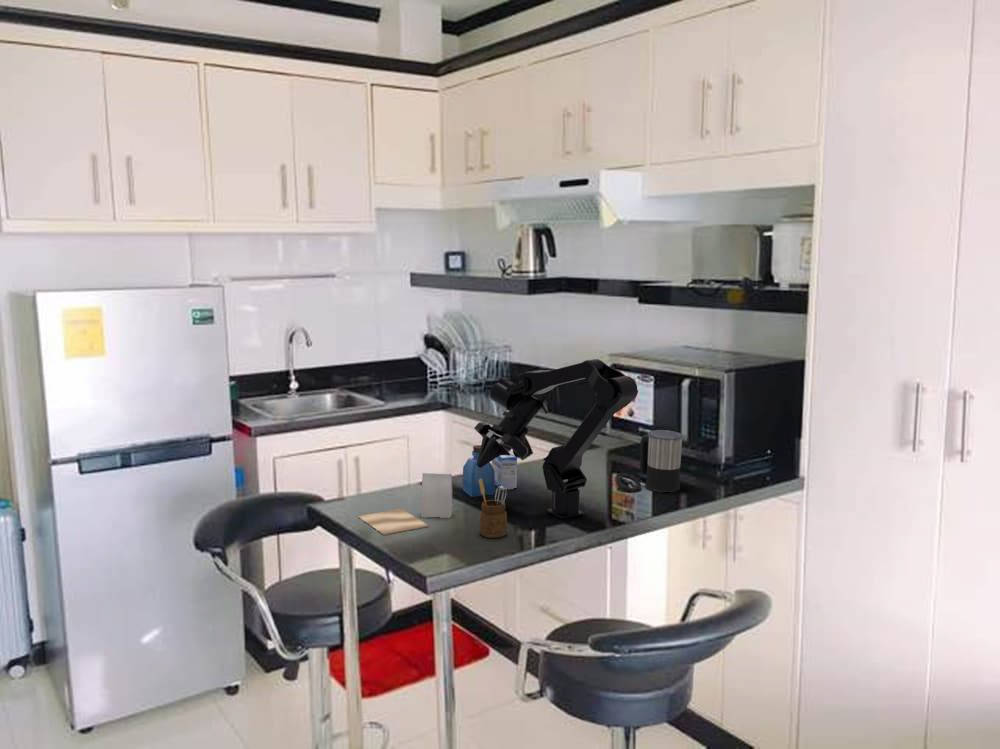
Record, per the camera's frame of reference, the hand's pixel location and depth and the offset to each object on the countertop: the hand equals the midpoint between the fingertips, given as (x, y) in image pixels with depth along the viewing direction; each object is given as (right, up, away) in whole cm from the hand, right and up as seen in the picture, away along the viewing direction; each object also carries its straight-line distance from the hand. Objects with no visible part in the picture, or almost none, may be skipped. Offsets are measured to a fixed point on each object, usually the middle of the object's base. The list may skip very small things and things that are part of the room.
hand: (478, 466), depth 196 cm
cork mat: (-19, -12, -10) cm, 24 cm away
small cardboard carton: (-10, -11, -4) cm, 15 cm away
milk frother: (+44, -8, +20) cm, 49 cm away
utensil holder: (+4, -13, -16) cm, 21 cm away
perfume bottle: (0, -8, +14) cm, 17 cm away
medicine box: (+6, -8, +21) cm, 23 cm away
